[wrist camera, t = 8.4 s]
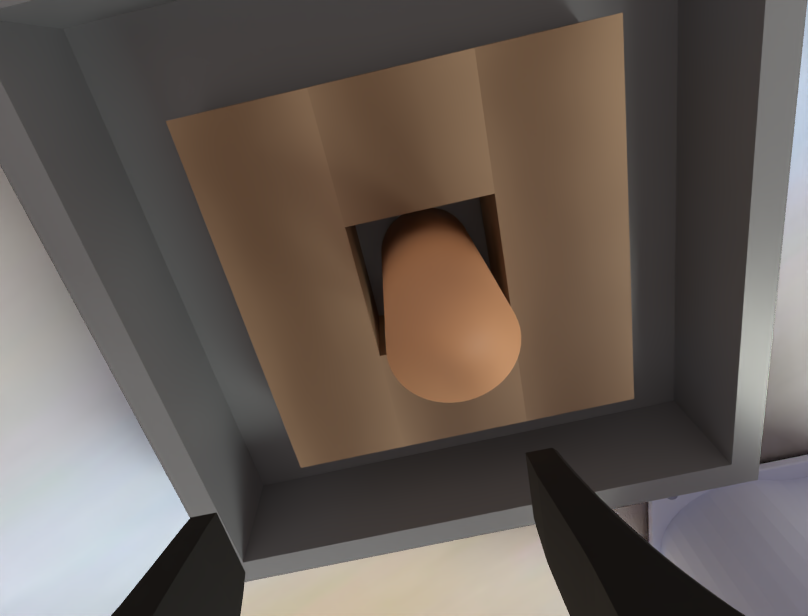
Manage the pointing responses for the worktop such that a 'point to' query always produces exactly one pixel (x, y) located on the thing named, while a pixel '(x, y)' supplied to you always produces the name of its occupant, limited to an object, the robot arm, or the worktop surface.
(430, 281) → the peg
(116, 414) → the worktop surface
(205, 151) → the socket block
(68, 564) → the worktop surface
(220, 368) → the tray
